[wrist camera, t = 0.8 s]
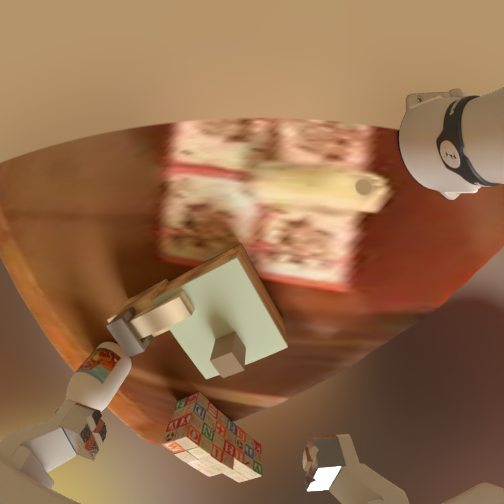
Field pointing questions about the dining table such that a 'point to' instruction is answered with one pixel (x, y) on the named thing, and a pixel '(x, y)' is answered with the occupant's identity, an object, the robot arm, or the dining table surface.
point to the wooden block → (161, 315)
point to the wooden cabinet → (143, 300)
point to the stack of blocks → (211, 440)
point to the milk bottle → (99, 376)
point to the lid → (225, 321)
